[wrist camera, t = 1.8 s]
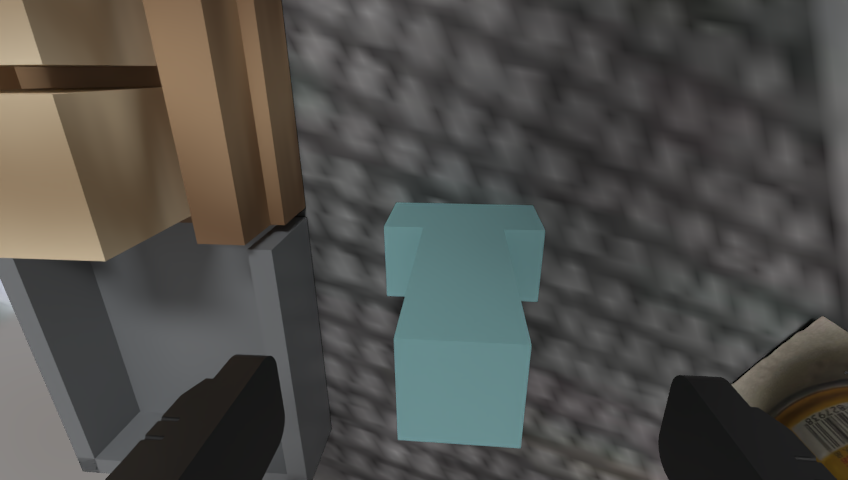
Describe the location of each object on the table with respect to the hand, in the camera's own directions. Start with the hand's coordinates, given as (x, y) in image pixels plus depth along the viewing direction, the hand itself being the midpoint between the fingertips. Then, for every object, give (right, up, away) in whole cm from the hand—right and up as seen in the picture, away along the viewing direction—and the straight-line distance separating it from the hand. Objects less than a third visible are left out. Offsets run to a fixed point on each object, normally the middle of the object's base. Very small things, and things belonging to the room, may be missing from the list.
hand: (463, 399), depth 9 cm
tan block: (-11, +6, +5) cm, 13 cm away
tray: (-10, -1, +10) cm, 14 cm away
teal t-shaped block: (+1, +3, +7) cm, 8 cm away
